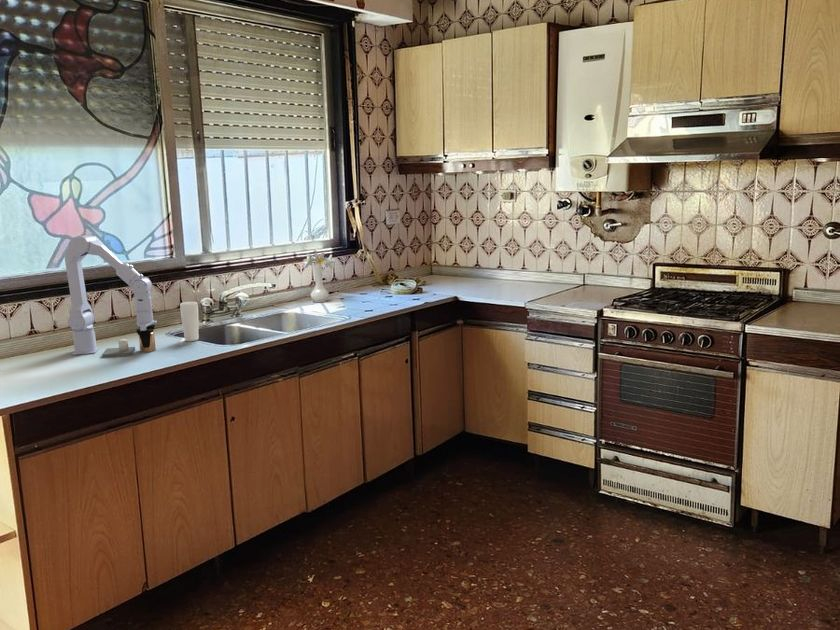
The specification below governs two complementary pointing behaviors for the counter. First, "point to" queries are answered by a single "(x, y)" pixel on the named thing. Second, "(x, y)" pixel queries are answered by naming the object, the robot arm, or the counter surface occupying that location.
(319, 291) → the flower vase
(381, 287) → the counter surface
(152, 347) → the copper topped wooden cylinder
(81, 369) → the counter surface
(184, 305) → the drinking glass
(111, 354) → the base
